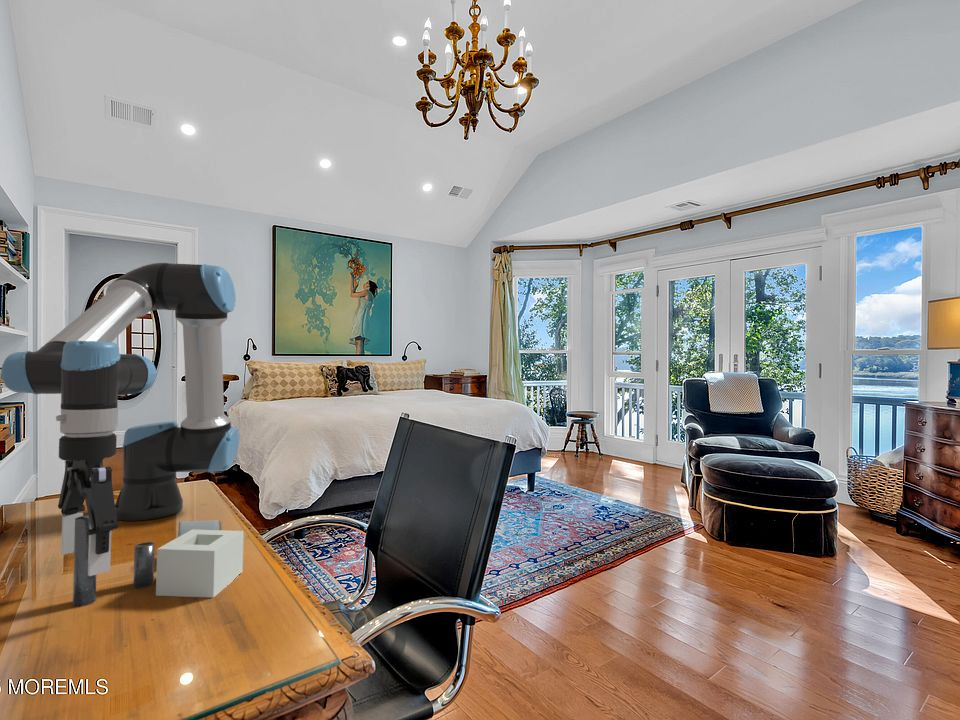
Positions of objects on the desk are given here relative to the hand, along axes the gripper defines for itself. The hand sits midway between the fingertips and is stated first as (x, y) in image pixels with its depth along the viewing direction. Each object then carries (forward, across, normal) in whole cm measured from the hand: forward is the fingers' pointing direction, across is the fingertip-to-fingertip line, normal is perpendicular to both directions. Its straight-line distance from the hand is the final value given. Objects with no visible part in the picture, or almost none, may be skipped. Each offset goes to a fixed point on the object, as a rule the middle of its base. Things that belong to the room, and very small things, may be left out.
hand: (84, 562), depth 82 cm
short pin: (+7, 0, +9) cm, 11 cm away
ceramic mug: (+7, -7, +21) cm, 23 cm away
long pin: (+7, 0, 0) cm, 7 cm away
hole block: (+7, +8, +15) cm, 18 cm away
